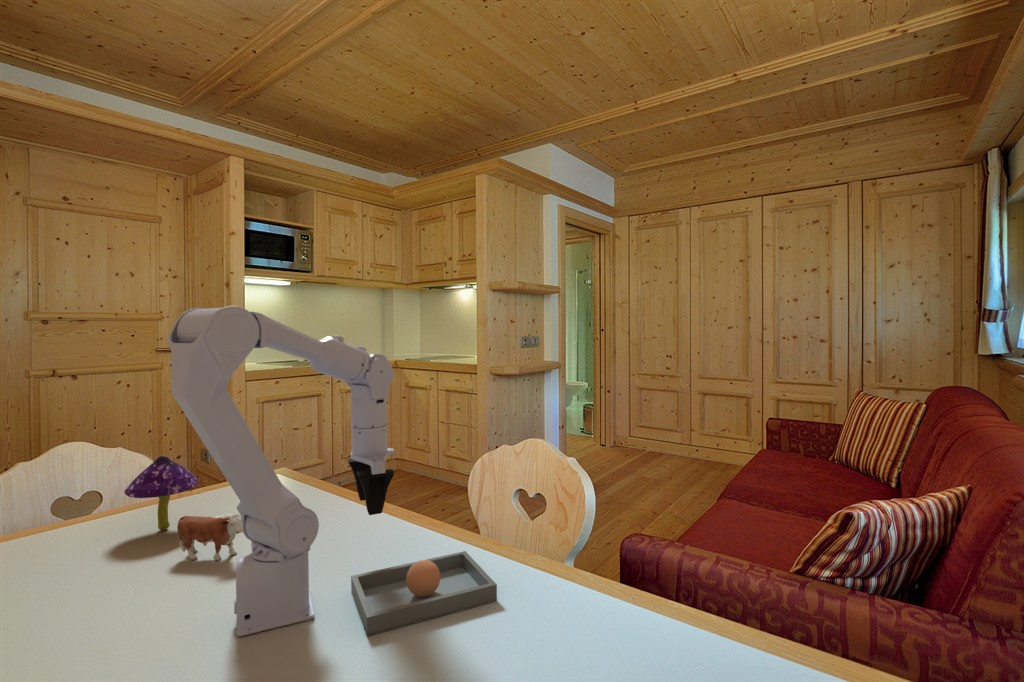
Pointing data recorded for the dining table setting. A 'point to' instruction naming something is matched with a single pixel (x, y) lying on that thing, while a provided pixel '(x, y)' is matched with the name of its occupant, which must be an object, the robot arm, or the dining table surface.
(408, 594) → the walled pen
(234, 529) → the bull figurine
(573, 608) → the dining table surface
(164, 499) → the decorative mushroom
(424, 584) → the ball
